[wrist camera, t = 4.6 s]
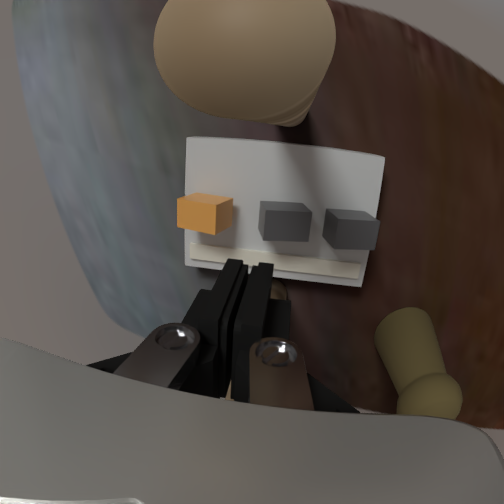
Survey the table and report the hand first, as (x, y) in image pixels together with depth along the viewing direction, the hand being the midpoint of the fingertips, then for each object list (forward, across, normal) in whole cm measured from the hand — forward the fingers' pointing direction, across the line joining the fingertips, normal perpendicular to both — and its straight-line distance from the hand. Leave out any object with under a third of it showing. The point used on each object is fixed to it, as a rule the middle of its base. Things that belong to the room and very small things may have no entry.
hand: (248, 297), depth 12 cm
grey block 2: (+12, -5, 0) cm, 13 cm away
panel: (+14, 0, 0) cm, 14 cm away
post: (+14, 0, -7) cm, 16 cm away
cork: (+14, -13, +11) cm, 22 cm away
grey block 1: (+12, 0, 0) cm, 12 cm away
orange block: (+12, +4, 0) cm, 13 cm away
